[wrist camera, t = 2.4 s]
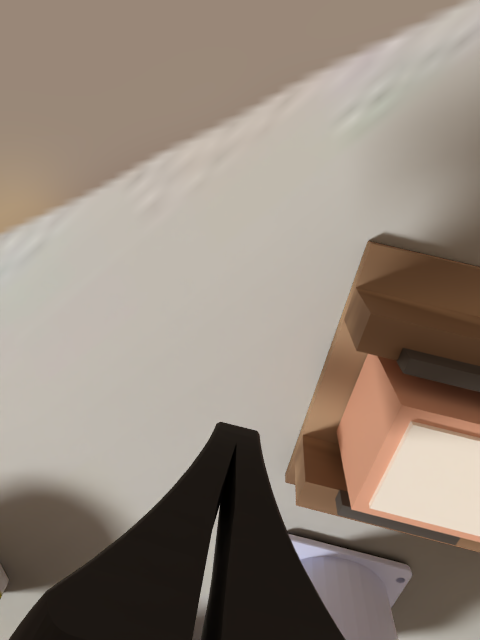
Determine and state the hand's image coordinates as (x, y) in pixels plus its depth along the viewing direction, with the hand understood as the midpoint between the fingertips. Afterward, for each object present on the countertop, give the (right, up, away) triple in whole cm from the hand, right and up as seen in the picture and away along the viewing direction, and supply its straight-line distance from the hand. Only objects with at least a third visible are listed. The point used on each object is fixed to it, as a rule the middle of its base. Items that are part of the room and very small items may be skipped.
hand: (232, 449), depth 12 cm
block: (+9, 0, +6) cm, 11 cm away
